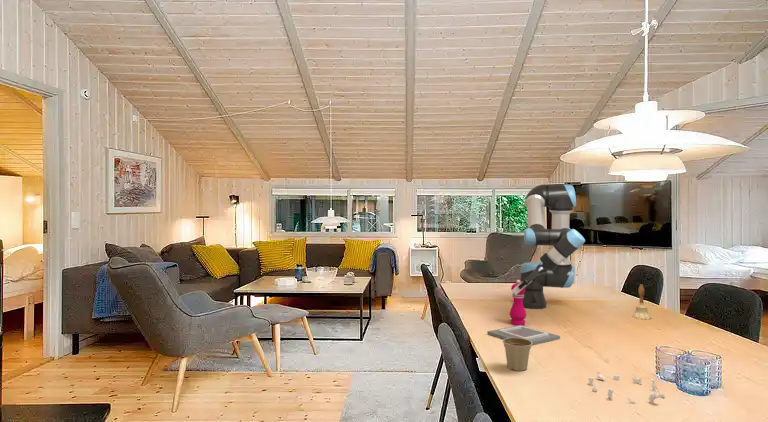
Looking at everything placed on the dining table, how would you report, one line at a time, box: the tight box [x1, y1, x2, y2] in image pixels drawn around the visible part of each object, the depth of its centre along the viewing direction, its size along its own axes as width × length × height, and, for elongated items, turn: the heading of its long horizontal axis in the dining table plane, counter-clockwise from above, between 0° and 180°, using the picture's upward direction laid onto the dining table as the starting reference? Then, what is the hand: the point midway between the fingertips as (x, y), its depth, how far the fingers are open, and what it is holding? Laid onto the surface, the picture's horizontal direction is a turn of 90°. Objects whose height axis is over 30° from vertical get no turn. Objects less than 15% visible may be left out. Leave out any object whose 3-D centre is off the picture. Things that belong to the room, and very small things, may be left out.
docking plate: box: [487, 325, 561, 347], centre depth 189 cm, size 20×20×2 cm
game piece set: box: [588, 371, 666, 404], centre depth 134 cm, size 19×20×4 cm
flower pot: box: [502, 338, 533, 372], centre depth 152 cm, size 9×9×9 cm
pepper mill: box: [509, 279, 527, 326], centre depth 209 cm, size 7×7×20 cm
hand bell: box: [631, 283, 652, 320], centre depth 224 cm, size 8×8×16 cm
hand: (516, 290), depth 209 cm, fingers open, 13 cm apart
